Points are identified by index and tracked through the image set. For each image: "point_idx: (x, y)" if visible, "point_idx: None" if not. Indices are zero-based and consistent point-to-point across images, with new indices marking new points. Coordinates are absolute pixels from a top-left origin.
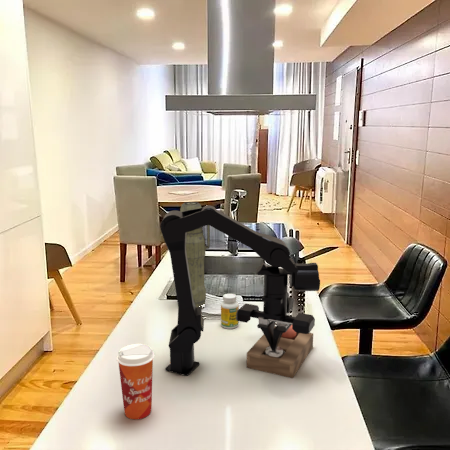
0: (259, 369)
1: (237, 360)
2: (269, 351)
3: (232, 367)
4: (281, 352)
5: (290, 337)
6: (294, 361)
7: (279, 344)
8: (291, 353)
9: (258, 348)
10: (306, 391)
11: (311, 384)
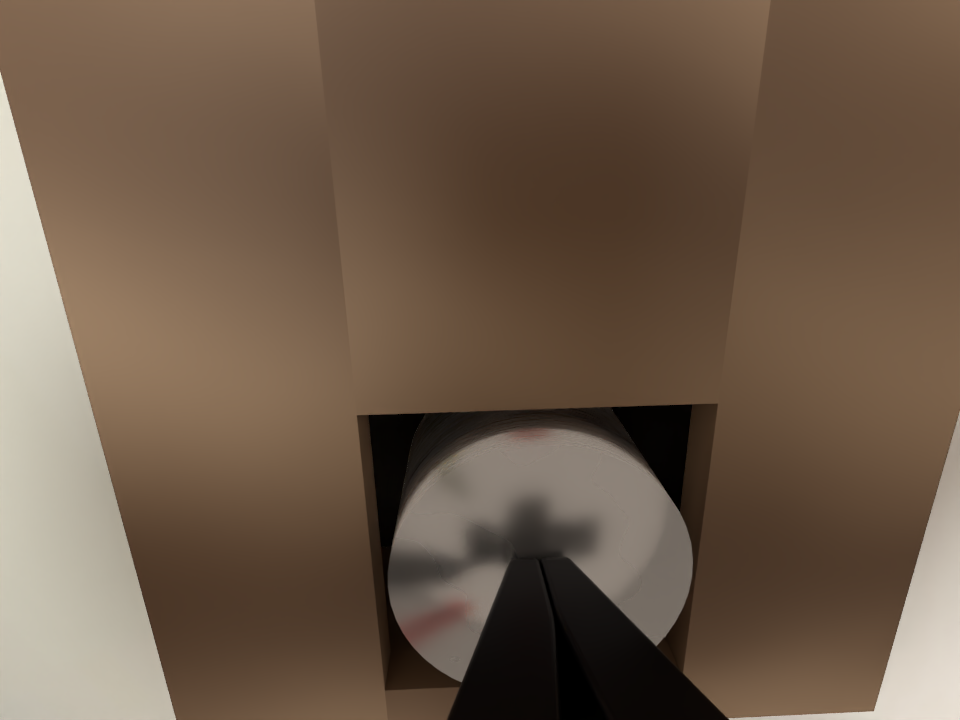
0: None
1: (89, 498)
2: None
3: (141, 631)
4: (678, 602)
5: None
6: (881, 654)
7: (532, 282)
8: (815, 493)
9: (258, 575)
10: (899, 674)
11: (939, 572)
